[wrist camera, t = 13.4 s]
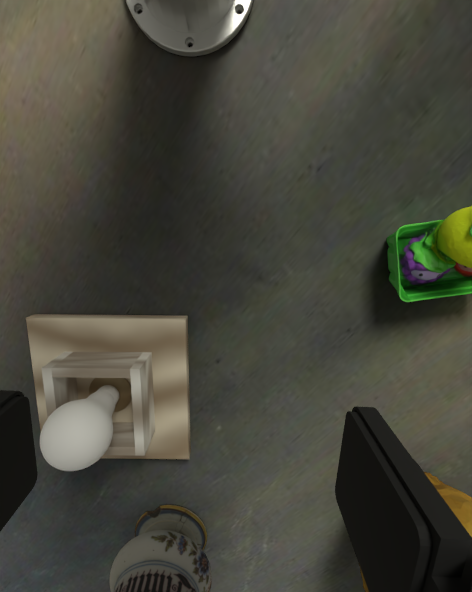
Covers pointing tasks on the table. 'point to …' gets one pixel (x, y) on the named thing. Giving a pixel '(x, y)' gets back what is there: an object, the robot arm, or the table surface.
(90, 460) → the lightbulb
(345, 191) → the table surface
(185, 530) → the apothecary jar
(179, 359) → the socket
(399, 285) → the fruit basket
